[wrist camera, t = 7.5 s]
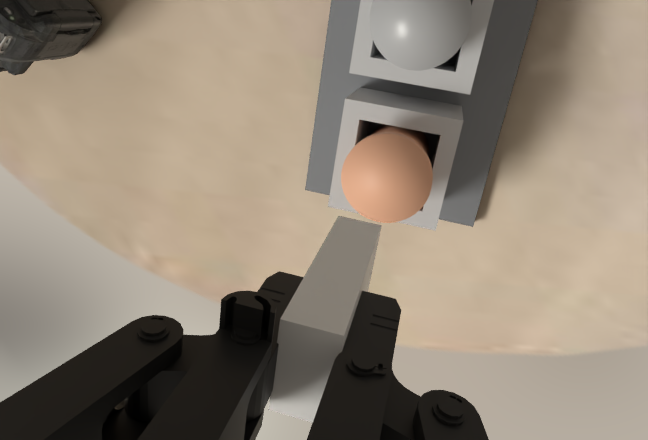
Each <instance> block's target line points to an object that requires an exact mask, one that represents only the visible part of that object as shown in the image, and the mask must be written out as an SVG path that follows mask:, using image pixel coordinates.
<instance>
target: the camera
mask: <svg viewBox="0 0 648 440" xmlns="http://www.w3.org/2000/svg"><path fill="white" fill-rule="evenodd" d="M101 23H102V18H101V16H100V15H99V14H98V13H97V12H96V10H95V9H94V8H93V6H92V5H91V4H90V3H89V2H88V0H0V72H1V71H8V73H11V74H13V75H17V74H23V73H25V71H26V70H27V69H28V68H29V67H30V65H31V64H32V63H33V62H34V61H40V60H48V59H51V60H54V59H61V58H66V57H70V56H73V55H75V54H77V53H78V52H79V51H80V50H81V49H82V48H83V47H84V46H85V45H86V43H87V42H88V41H89V40H90V39H91V37H92V36H93V35H94V33H95V32H96V31H97V29H98V28H99V26H100V25H101Z"/></svg>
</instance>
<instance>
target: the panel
mask: <svg viewBox="0 0 648 440" xmlns="http://www.w3.org/2000/svg"><path fill="white" fill-rule="evenodd" d="M470 1H471V7H472V19H471V25H470V29H469V32H468V35H467V37H466V39H465V41H464V43H463V44H462V46H461V47H460V49H459V50H458V51H457V52H456V53H455V54H454V55H453V56H452V57H451V58H450V59H449V60H448V61H446V62H445V63H443V64H441V65H439V66H437V67H435V68H431V69H428V70H421V71H414V70H407V69H403V68H400V67H398V66H396V65H394V64H392V63H391V62H389V61H388V60H387V59H386V58H385V57H384V56H383V55H382V54H381V53H380V51H379V50H378V49H377V47H376V45H375V43H374V41H373V38H372V35H371V31H370V10H371V5H372V2H373V0H331V7H330V14H329V21H328V29H327V36H326V43H325V50H324V58H323V65H322V72H321V79H320V87H319V94H318V101H317V108H316V116H315V123H314V130H313V137H312V145H311V152H310V159H309V166H308V174H307V181H306V188H305V190H308V191H312V192H317V193H322V194H326V195H330V196H329V203H328V207H332V208H336V209H341V210H345V211H350V212H354V213H358V212H357V211H356V210H355V209H354V208H353V207H352V206H351V205H350V203H349V202H348V200H347V199H346V197H345V195H344V192H343V189H342V184H341V172H342V167H343V164H344V161H345V159H346V157H347V155H348V154H349V153H350V151H351V150H352V149H353V147H354V146H355V145H356V144H357V143H358V142H360V141H361V140H362V139H364V138H366V137H367V136H370V135H371V134H372V133H373V132H374V131H375V130H376V129H377V128H378V127H379V126H381V125H382V124H386V125H391V126H396V127H401V128H406V129H411V130H417V131H422V132H423V134H424V135H425V137H426V139H427V141H428V145H429V159H430V162H431V165H432V171H433V181H432V188H431V192H430V195H429V197H428V199H427V201H426V203H425V204H424V206H423V207H422V208H421V209H420V210H419V211H418V212H417V213H416V214H414V215H413V216H411V217H409V218H407V219H405V220H402V221H398V222H399V223H403V224H408V225H412V226H417V227H421V228H426V229H430V230H435V231H436V227H437V223H438V219H440V220H445V221H449V222H454V223H458V224H463V225H468V226H472V227H473V225H474V221H475V218H476V214H477V211H478V207H479V204H480V200H481V197H482V193H483V190H484V186H485V183H486V179H487V176H488V172H489V169H490V165H491V162H492V158H493V155H494V151H495V148H496V144H497V141H498V137H499V134H500V130H501V127H502V123H503V120H504V116H505V113H506V109H507V106H508V102H509V99H510V95H511V92H512V88H513V85H514V81H515V78H516V74H517V71H518V67H519V64H520V60H521V57H522V53H523V50H524V46H525V43H526V39H527V36H528V32H529V29H530V26H531V22H532V19H533V15H534V12H535V8H536V5H537V1H538V0H470ZM359 214H360V213H359Z"/></svg>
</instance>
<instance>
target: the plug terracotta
mask: <svg viewBox="0 0 648 440" xmlns="http://www.w3.org/2000/svg"><path fill="white" fill-rule="evenodd" d="M432 181H433V171H432V165H431V162H430V159H429V145H428V141H427V139H426V137H425V135H424V134H423V132H422V131H417V130H411V129H406V128H401V127H396V126H391V125H386V124H382V125H381V126H379V127H378V128H377V129H376V130H375V131H374V132H373V133H372V134H371V135H370V136H367V137H366V138H364V139H362V140H361V141H360V142H358V143H357V144H356V145H355V146H354V147H353V149H352V150H351V151H350V153H349V154H348V155H347V157H346V159H345V161H344V164H343V167H342V172H341V184H342V189H343V192H344V195H345V197H346V199H347V200H348V202H349V203H350V205H351V206H352V207H353V208H354V209H355V210H356V211H357V212H358V213H360V214H361V215H363V216H364V217H366V218H368V219H371V220H373V221H377V222H383V223H392V222H398V221H402V220H405V219H407V218H409V217H411V216H413V215H414V214H416V213H417V212H418V211H419V210H420V209H421V208H422V207H423V206H424V204H425V203H426V201H427V199H428V197H429V195H430V192H431V188H432Z"/></svg>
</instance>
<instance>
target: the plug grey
mask: <svg viewBox="0 0 648 440" xmlns="http://www.w3.org/2000/svg"><path fill="white" fill-rule="evenodd" d="M471 19H472V7H471V1H470V0H373V2H372V5H371V10H370V31H371V35H372V38H373V41H374V43H375V45H376V47H377V49H378V50H379V51H380V53H381V54H382V55H383V56H384V57H385V58H386V59H387V60H388V61H389V62H391V63H392V64H394V65H396V66H398V67H400V68H403V69H407V70H414V71H421V70H428V69H431V68H435V67H437V66H439V65H441V64H443V63H445V62H446V61H448V60H449V59H450V58H451V57H452V56H453V55H454V54H455V53H456V52H457V51H458V50H459V49H460V47H461V46H462V44H463V43H464V41H465V39H466V37H467V35H468V32H469V29H470V25H471Z"/></svg>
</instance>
